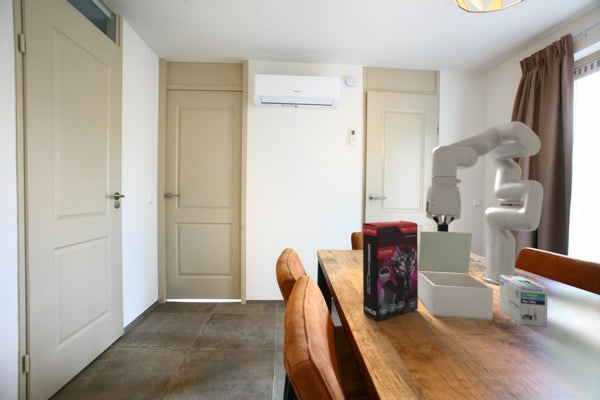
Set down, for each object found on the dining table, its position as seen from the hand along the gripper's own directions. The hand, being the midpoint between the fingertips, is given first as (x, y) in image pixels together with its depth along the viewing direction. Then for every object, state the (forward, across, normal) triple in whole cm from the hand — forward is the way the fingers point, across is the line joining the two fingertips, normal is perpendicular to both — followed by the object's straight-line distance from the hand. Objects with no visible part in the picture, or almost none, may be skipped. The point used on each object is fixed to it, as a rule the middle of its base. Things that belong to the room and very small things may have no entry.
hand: (442, 235), depth 88 cm
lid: (+5, 0, +2) cm, 6 cm away
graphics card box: (+22, +20, +14) cm, 33 cm away
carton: (+22, 0, +8) cm, 23 cm away
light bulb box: (+22, -18, +10) cm, 30 cm away
